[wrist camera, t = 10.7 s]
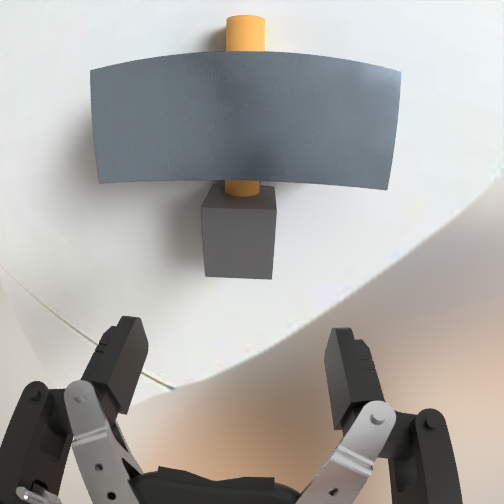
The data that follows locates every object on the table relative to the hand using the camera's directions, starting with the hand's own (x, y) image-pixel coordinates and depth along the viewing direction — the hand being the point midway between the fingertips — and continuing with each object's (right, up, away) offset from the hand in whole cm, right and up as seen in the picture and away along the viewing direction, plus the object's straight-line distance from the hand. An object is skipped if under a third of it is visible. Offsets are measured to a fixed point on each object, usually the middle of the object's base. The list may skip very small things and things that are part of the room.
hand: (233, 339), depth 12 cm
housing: (0, +13, +6) cm, 15 cm away
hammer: (0, +11, +8) cm, 14 cm away
